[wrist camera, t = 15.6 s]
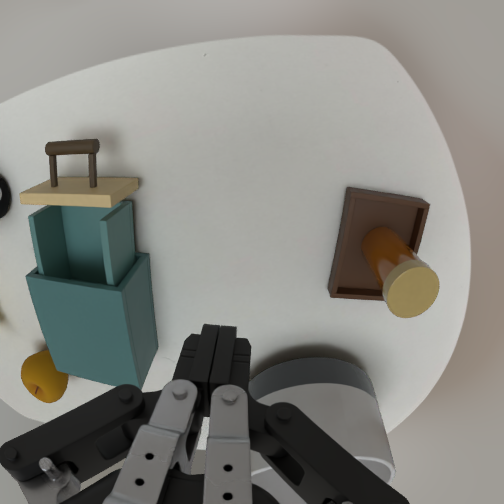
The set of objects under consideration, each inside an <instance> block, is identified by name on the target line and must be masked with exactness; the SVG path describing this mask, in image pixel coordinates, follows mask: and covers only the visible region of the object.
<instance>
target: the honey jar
mask: <svg viewBox="0 0 504 504" xmlns="http://www.w3.org/2000/svg"><path fill="white" fill-rule="evenodd" d="M361 254H362V256H363V258H364V260H365V262H366V264H367V265H368V267H369V269H370V271H371V272H372V274H373V276H374V278H375V279H376V281H377V283H378V285H379V287H380V288H381V290H382V292H383V298H384V300H385V302H386V304H387V306H388V308H389V310H390V311H391V312H392V313H393V314H394V315H396V316H398V317H401V318H411V317H415V316H417V315H419V314H421V313H423V312H425V311H426V310H427V309H428V308H429V307H430V306H431V305H432V304H433V302H434V301H435V299H436V297H437V295H438V292H439V279H438V276H437V275H436V273H435V272H434V271H433V270H432V269H431V267H430V266H429V265H428V264H427V263H425V262H423V261H422V260H421V259H420V258H419V257H418V256H417V255H416V254H415V252H414V251H413V250H412V249H411V248H410V247H409V246H408V245H407V244H406V242H405V241H404V240H403V239H402V238H401V237H400V236H399V235H398V234H397V233H396V232H395V231H394V230H393V229H391V228H389V227H378V228H375V229H373V230H371V231H370V232H369V233H368V234H367V235H366V236H365V237H364V239H363V241H362V244H361Z"/></svg>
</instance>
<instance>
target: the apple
mask: <svg viewBox="0 0 504 504" xmlns="http://www.w3.org/2000/svg"><path fill="white" fill-rule="evenodd" d="M21 379H22V382H23V384H24V385H25V387H26V388H27V390H28V391H29V392H30V393H31V394H32V395H33V396H34V397H36V398H37V399H39V400H40V401H43V402H46V403H52V402H56V401H57V400H59V399H60V398H61V397H62V396H63V394H64V392H65V390H66V388H67V384H68V374H67V373H64V372H60V371H57V369H56V367H55V364H54V362H53V359H52V357H51V354H50V352H49V350H45V351H41V352H38V353H35V354H33V355H31V356H29V357H28V358H27V359H26V360H25V361H24V363H23V365H22V368H21Z"/></svg>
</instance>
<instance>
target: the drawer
mask: <svg viewBox="0 0 504 504" xmlns="http://www.w3.org/2000/svg"><path fill="white" fill-rule="evenodd" d="M99 147H100V144H99V140H98V139H84V140H68V141H55V142H48V143H47V144H46V147H45V152H46V154H47V155H48V156H49V164H50V180H48V181H45V182H43V183H41V184H39V185H36V186H34V187H32V188H30V189H28V190H26V191H23V192H21V193H20V202H21V204H31V205H47V206H45V207H43V208H41V209H40V210H38V211H36V212H34V213H33V214H31V215H29V216H28V219H29V225H30V231H31V237H32V242H33V248H34V253H35V257H36V262H37V267H38V271H39V275H44V276H50V277H56V278H62V279H68V280H74V281H81V282H87V283H94V284H100V285H107V286H114V287H118V286H119V284H120V283H121V282H122V280H123V279H124V278H125V276H126V275H127V274H128V272H129V271H130V270H131V268H132V267H133V266H134V264H135V263H136V257H135V244H134V230H133V212H132V201H121V200H123V199H124V198H126V197H127V196H129V195H130V194H131V193H133V192H134V191H136V190H137V189H138V178H111V177H97V169H96V153H97V152H98V151H99ZM69 154H88V160H89V177H57V162H56V155H69ZM50 155H51V156H50Z"/></svg>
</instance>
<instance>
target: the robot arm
mask: <svg viewBox="0 0 504 504" xmlns="http://www.w3.org/2000/svg"><path fill="white" fill-rule="evenodd" d="M236 335H237V327H234V326H222V325H221V326H220V325H210V324H204V325H203V328H202V331H201V335H200V334H191V335H190V336H189V337H188V338H187V339H186V340H185V341H184V344H183V347H182V350H181V354H180V357H179V360H178V363H177V366H176V369H175V372H174V376H173V379H172V381H170V382H169V383H167V384H166V385H165V386H164V388H163V389H162V390H159V391H155V392H145V393H142V391H141V390H140V389H139V388H138V387H137V386H135V385H132V384H122V385H119V386H117V387H115V388H113V389H111V390H109V391H108V392H106V393H104V394H102V395H100V396H98V397H96V398H94V399H92V400H91V401H89V402H87V403H85V404H83V405H81V406H79V407H77V408H75V409H73V410H71V411H69V412H67V413H65V414H63V415H61V416H59V417H57V418H55V419H53V420H51V421H49V422H47V423H45V424H43V425H41V426H39V427H37V428H35V429H33V430H31V431H29V432H27V433H25V434H23V435H20V436H18V437H16V438H14V439H12V440H10V441H8V442H6V443H4V444H3V445H2V446H1V448H0V463H1V465H2V466H3V467H4V468H5V469H6V470H7V471H8V472H9V473H10V474H11V476H12V477H13V478H14V479H15V480H16V481H17V482H18V484H19V486H20V488H21V490H22V492H23V494H24V495H25V497H26V499H27V501H28V503H29V504H280V503H279V502H278V501H277V500H276V499H275V498H274V497H273V496H272V495H271V494H270V493H269V492H268V491H266V490H265V489H263V488H262V487H260V486H258V485H256V484H253V483H252V481H251V453H250V450H253V451H256V452H259V453H260V455H261V457H262V458H263V459H264V460H265V461H266V462H267V463H268V464H269V465H270V467H271V468H272V469H273V470H274V471H275V472H276V473H277V474H278V475H279V476H280V477H281V478H282V479H283V480H284V481H285V482H286V483H287V484H288V485H289V486H290V487H291V488H292V489H293V490H294V491H295V492H296V493H297V494H298V495H299V496H300V497H301V498H302V499H303V500H304V501H305V502H306V503H307V504H409V502H408V500H407V499H406V498H405V497H404V496H403V495H401V494H400V493H399V492H397V491H396V490H395V489H393V488H392V487H391V486H389V485H388V484H387V483H386V482H384V481H383V480H382V479H381V478H379V477H378V476H377V475H376V474H374V473H373V472H372V471H371V470H369V469H368V468H367V467H366V466H364V465H363V464H362V463H361V462H360V461H358V460H357V459H356V458H355V457H354V456H352V455H351V454H350V453H349V452H348V451H346V450H345V449H344V448H343V447H342V446H341V445H339V444H338V443H337V442H336V441H335V440H334V439H332V438H331V437H330V436H329V435H328V434H327V433H326V432H324V431H323V430H322V429H321V428H320V427H319V426H318V425H317V424H315V423H314V422H313V421H312V420H311V419H310V418H309V417H308V416H307V415H305V414H304V413H303V412H302V411H301V410H300V409H299V408H298V407H297V406H295V405H293V404H291V403H288V402H278V403H274V404H272V405H271V406H268V405H265V404H262V403H259V402H258V401H256V400H255V399H253V398H252V396H251V395H250V393H249V390H248V386H249V372H250V358H251V345H250V343H249V341H248V339H246V338H236ZM203 417H210V422H209V435H208V437H207V446H206V462H205V474H197V475H191V466H192V462H193V458H194V455H195V451H196V448H197V445H198V441H199V438H200V434H201V427H202V422H203ZM124 458H126V460H125V462H124V464H123V466H122V468H121V469H118V470H115V471H113V472H111V473H110V474H108V475H107V476H105V477H103V478H102V479H100V480H99V481H97V482H95V483H94V484H92V485H90V486H89V487H87V488H85V489H84V490H82V491H80V487H81V485H80V484H81V483H82V482H84V481H86V480H88V479H90V478H92V477H93V476H95V475H97V474H99V473H100V472H102V471H104V470H105V469H107V468H109V467H111V466H112V465H114V464H116V463H118V462H119V461H121V460H122V459H124ZM79 491H80V492H79Z"/></svg>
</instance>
